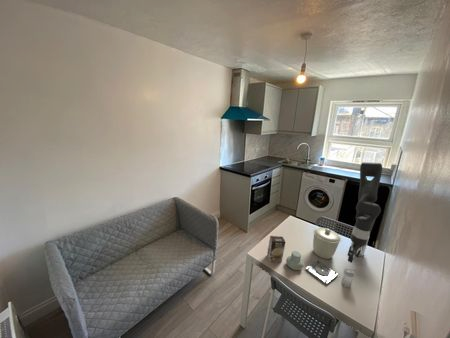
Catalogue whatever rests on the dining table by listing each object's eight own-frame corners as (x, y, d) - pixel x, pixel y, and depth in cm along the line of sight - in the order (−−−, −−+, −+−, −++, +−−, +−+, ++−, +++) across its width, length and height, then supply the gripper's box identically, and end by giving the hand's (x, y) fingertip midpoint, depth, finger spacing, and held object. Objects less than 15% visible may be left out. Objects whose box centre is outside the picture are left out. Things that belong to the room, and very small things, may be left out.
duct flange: (317, 262, 134) (317, 259, 133) (337, 275, 123) (338, 272, 122) (305, 269, 126) (306, 267, 125) (326, 285, 115) (327, 282, 114)
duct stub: (343, 278, 121) (346, 267, 118) (353, 285, 116) (356, 273, 114) (339, 282, 118) (342, 270, 115) (349, 289, 113) (352, 277, 111)
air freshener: (298, 261, 133) (300, 249, 131) (304, 270, 125) (307, 257, 123) (283, 262, 131) (285, 249, 129) (289, 271, 124) (291, 258, 121)
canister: (329, 247, 151) (335, 223, 145) (340, 264, 133) (347, 238, 128) (306, 244, 152) (311, 221, 147) (314, 260, 135) (320, 234, 129)
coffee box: (269, 261, 131) (272, 241, 127) (266, 255, 137) (269, 235, 133) (282, 262, 132) (285, 241, 127) (279, 255, 138) (282, 236, 134)
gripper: (358, 228, 115) (351, 251, 119) (347, 235, 107) (340, 259, 111) (372, 234, 109) (365, 258, 113) (362, 242, 101) (354, 267, 105)
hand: (353, 259), depth 112 cm, fingers open, 8 cm apart
